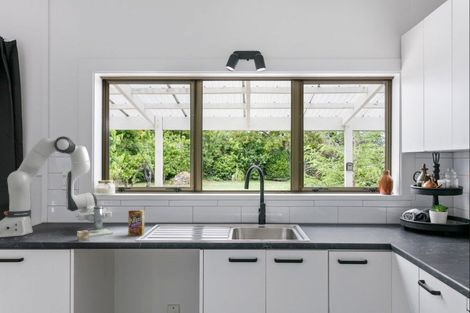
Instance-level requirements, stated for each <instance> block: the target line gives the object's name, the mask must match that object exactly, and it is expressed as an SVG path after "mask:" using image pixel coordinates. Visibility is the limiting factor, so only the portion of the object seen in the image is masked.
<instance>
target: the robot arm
mask: <svg viewBox="0 0 470 313" xmlns="http://www.w3.org/2000/svg"><path fill="white" fill-rule="evenodd" d="M55 152H57V153H60V154H66V155H67V154H68V155H69V157H70V161H71V168H70V170H69V171H68V172H67V177H66V193H65V194H66V196H65V203H64V204H65V208H66V209H67V210H68V211H70V212H75V211H79V210H80V211H79V213H78V214H77V215H75V218H77V220H78V221H89V222H93V223H94V207H95V206H98V200H97V196H96V195H95V194H94V193H93V192H84V193H80V194H75V183H76V181H77V180H78V179H80V178H82V177H83V176H85V175H86V174H88V173H89V172H90V170H91V161H90V160H91V159H90V155H89V151H88V149H87V148H86V146H84V145H81V144H80V145H76V144H75V143H74V141H73V140H72V139H71V138H70V137H69V136H58V137H57V138H56V139H55V140H54V139H51V138H49V137H43V138H41V139H40V140H39V141H37V143H35V144H34V146H33V147H32V148H31V150H29V152H28V153H27V154H26V156H25V157H24V158H23V160H22V162H21V163H20V166H18V167H19V168H17V170H15V171H13V172H11V173H10V174H9V175H8V177H7V186H8V187H7V188H8V195H9V196H8V198H9V203H8V204H9V210H7V211H3V214H4V216H5V217H4V218H2V219H1V220H0V238H5V237H7V238H8V237H17V236H18V237H20V236H24V235H29V234H31V233H33V232H34V230H33V227H32V221H31V220H32V219H31V218H32V210H31V202H32V201H31V200H32V199H31V193H30V192H31V191H30V185H32V183H33V181H34V180H35V178H36V177H37V175H38V174H39V172H40V170H41V169H42V168H43V167H44V165H45V164H46V163H47V161H48V160H49V159H50V157H51V156H52V154H54V153H55ZM112 217H113V212H112V211H111V210H109V209H107V208H103V220H104V219H109V218H110V219H111V218H112Z"/></svg>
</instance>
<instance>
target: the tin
mask: <svg viewBox="0 0 470 313" xmlns="http://www.w3.org/2000/svg"><path fill="white" fill-rule="evenodd" d="M103 209H104V206H103V205H97V206H95V207H94V221H93V230H101V229H104V228H103V227H104V224H103V222H104V221H103V220H104V219H103Z"/></svg>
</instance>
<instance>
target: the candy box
mask: <svg viewBox="0 0 470 313" xmlns="http://www.w3.org/2000/svg"><path fill="white" fill-rule="evenodd" d="M145 213H146V212H145V209H128V214H127V215H128V220H127V222H128V223H127V226H128V228H127V231H128V232H127V235H128V236H134V237H135V236H138V237H139V236H140V237H143V236H144V235H145Z"/></svg>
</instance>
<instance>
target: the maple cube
mask: <svg viewBox="0 0 470 313" xmlns="http://www.w3.org/2000/svg"><path fill="white" fill-rule="evenodd" d="M89 231H90V230H87V229H86V230H85V229H84V230H77V231H76V241H78V242H85V241H89V240H90V237H89Z"/></svg>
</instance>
